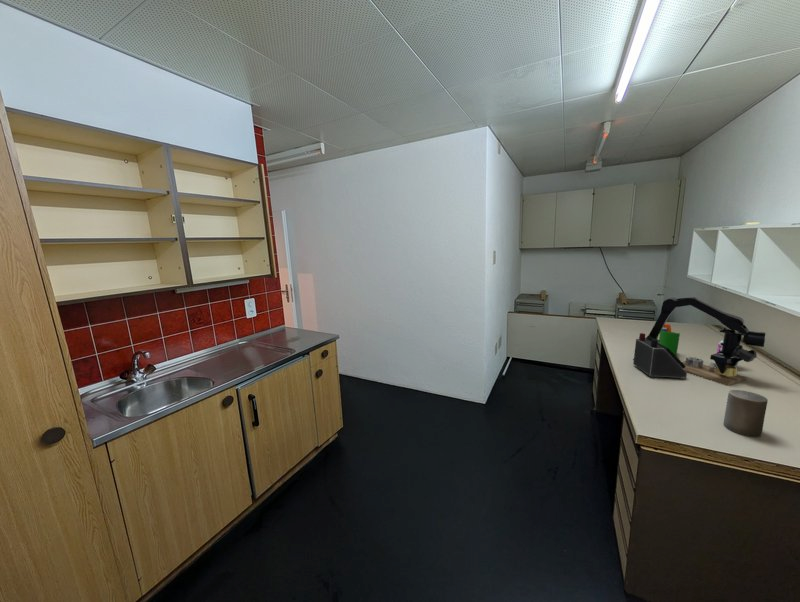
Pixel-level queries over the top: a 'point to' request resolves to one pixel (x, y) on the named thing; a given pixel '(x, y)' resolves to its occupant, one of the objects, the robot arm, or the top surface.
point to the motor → (669, 338)
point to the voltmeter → (657, 359)
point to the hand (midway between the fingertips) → (726, 372)
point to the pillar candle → (745, 413)
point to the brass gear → (729, 371)
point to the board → (713, 374)
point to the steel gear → (694, 363)
